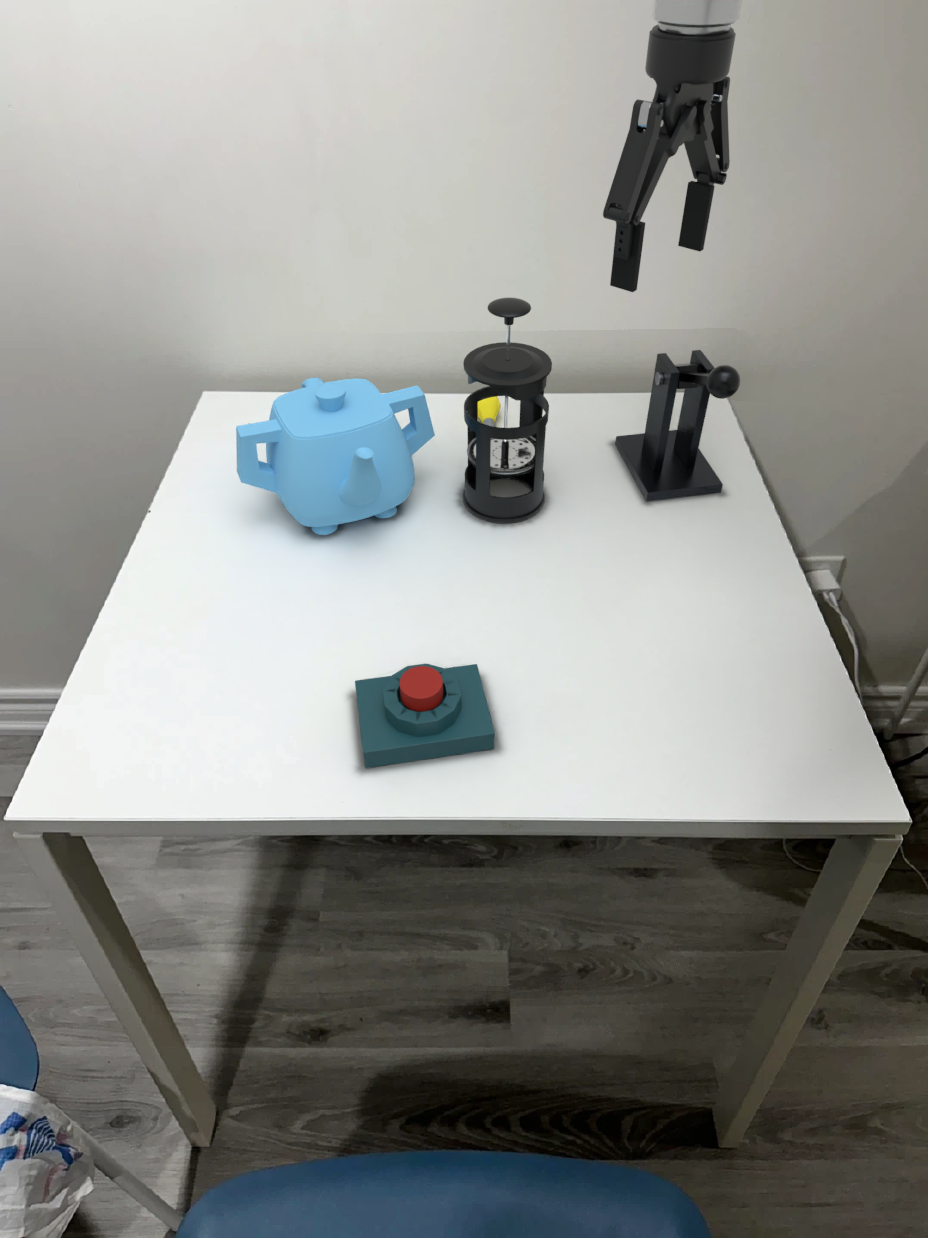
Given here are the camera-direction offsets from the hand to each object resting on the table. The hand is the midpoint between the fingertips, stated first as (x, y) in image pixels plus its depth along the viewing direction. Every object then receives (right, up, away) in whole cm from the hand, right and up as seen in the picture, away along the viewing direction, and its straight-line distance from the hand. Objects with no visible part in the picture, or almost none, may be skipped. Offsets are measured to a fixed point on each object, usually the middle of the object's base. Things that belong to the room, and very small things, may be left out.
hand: (658, 267), depth 90 cm
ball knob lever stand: (+4, -19, +12) cm, 23 cm away
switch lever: (+4, -14, -1) cm, 14 cm away
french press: (-16, -23, +8) cm, 29 cm away
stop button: (-24, -44, -18) cm, 53 cm away
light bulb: (-18, -12, +20) cm, 29 cm away
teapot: (-34, -25, +7) cm, 42 cm away
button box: (-24, -46, -15) cm, 54 cm away
